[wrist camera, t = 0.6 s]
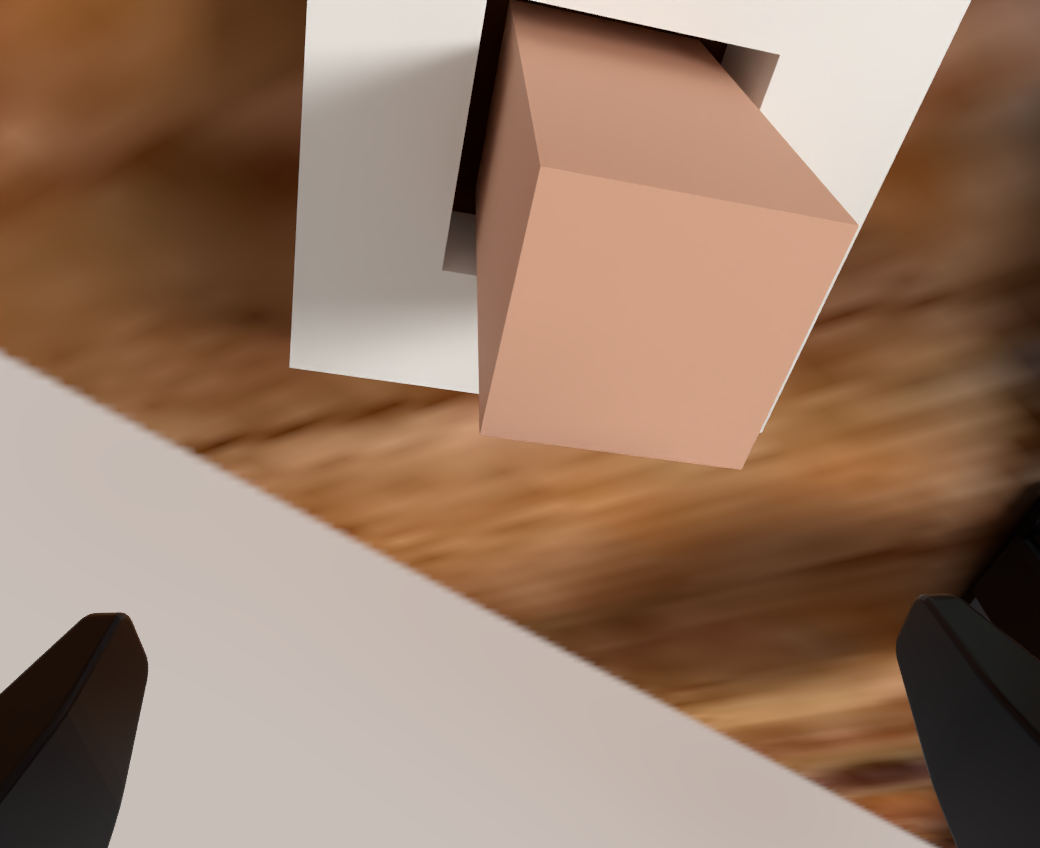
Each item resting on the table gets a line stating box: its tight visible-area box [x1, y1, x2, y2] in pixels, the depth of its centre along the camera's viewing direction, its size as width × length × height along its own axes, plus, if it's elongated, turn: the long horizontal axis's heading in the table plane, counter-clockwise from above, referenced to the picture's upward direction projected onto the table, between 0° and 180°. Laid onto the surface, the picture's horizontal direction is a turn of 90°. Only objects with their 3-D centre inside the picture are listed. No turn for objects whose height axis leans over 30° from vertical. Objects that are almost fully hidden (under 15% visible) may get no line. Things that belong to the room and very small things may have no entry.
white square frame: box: [289, 0, 971, 433], centre depth 17 cm, size 11×11×3 cm
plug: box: [475, 0, 859, 470], centre depth 15 cm, size 4×4×9 cm
